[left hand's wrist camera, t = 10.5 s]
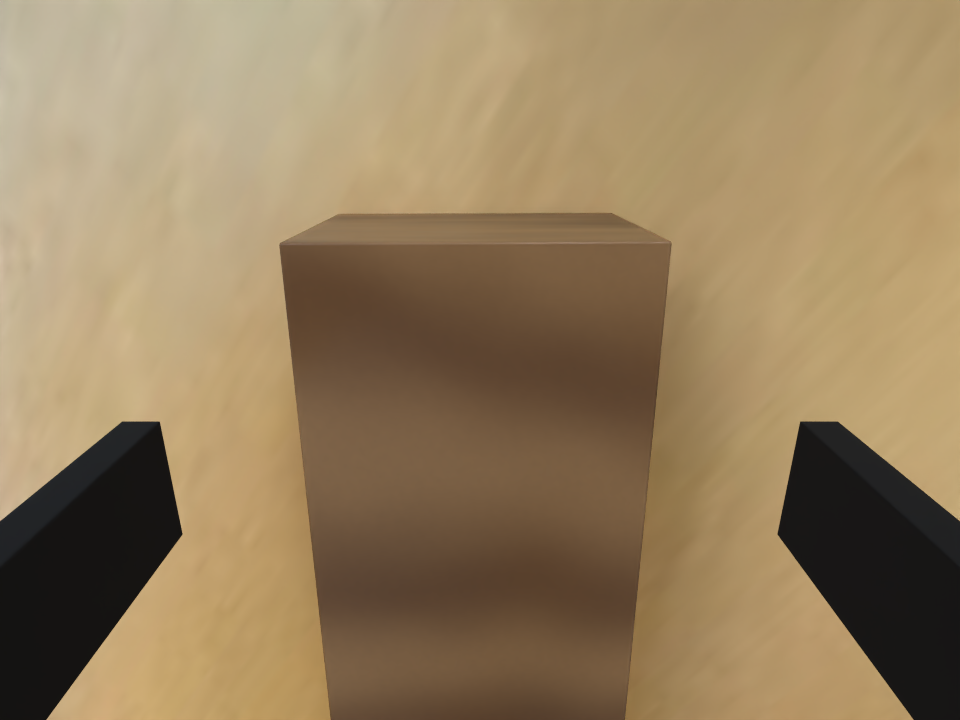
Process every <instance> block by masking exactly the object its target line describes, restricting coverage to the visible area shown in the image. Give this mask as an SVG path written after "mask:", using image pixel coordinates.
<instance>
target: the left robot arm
mask: <svg viewBox="0 0 960 720" xmlns="http://www.w3.org/2000/svg"><path fill="white" fill-rule="evenodd" d="M181 536H182V530H181V525H180V520H179V515H178V510H177V505H176V500H175V495H174V490H173V485H172V480H171V475H170V470H169V465H168V460H167V455H166V450H165V446H164V441H163V436H162V431H161V426H160V422H121V423H120V424H119V425H118V426H116V427H115V428H114V429H113V430H111V431H110V432H109V433H108V434H107V435H105V436H104V437H103V438H102V439H100V440H99V441H98V442H97V443H96V444H94V445H93V446H92V447H91V448H89V449H88V450H87V451H86V452H85V453H83V454H82V455H81V456H80V457H78V458H77V459H76V460H75V461H73V462H72V463H71V464H70V465H69V466H67V467H66V468H65V469H64V470H62V471H61V472H60V473H59V474H58V475H56V476H55V477H54V478H53V479H51V480H50V481H49V482H48V483H47V484H45V485H44V486H43V487H42V488H40V489H39V490H38V491H37V492H36V493H34V494H33V495H32V496H31V497H29V498H28V499H27V500H26V501H25V502H23V503H22V504H21V505H20V506H18V507H17V508H16V509H15V510H14V511H12V512H11V513H10V514H9V515H7V516H6V517H5V518H4V519H2V520H1V521H0V720H46V719H47V718H48V717H49V715H50V714H51V713H52V711H53V710H54V708H55V707H56V706H57V704H58V703H59V702H60V700H61V699H62V698H63V696H64V695H65V693H66V692H67V691H68V689H69V688H70V687H71V685H72V684H73V683H74V681H75V680H76V679H77V677H78V676H79V674H80V673H81V672H82V670H83V669H84V668H85V666H86V665H87V664H88V662H89V661H90V659H91V658H92V657H93V655H94V654H95V653H96V651H97V650H98V649H99V647H100V646H101V645H102V643H103V642H104V640H105V639H106V638H107V636H108V635H109V634H110V632H111V631H112V630H113V628H114V627H115V625H116V624H117V623H118V621H119V620H120V619H121V617H122V616H123V615H124V613H125V612H126V610H127V609H128V608H129V606H130V605H131V604H132V602H133V601H134V600H135V598H136V597H137V596H138V594H139V593H140V591H141V590H142V589H143V587H144V586H145V585H146V583H147V582H148V581H149V579H150V578H151V576H152V575H153V574H154V572H155V571H156V570H157V568H158V567H159V566H160V564H161V563H162V561H163V560H164V559H165V557H166V556H167V555H168V553H169V552H170V551H171V549H172V548H173V547H174V545H175V544H176V542H177V541H178V540H179V538H180V537H181ZM778 536H779V537H780V538H781V540H782V541H783V542H784V544H785V545H786V547H787V548H788V549H789V551H790V552H791V553H792V555H793V556H794V557H795V559H796V560H797V561H798V563H799V564H800V566H801V567H802V568H803V570H804V571H805V572H806V574H807V575H808V576H809V578H810V579H811V581H812V582H813V583H814V585H815V586H816V587H817V589H818V590H819V591H820V593H821V594H822V596H823V597H824V598H825V600H826V601H827V602H828V604H829V605H830V606H831V608H832V609H833V610H834V612H835V613H836V615H837V616H838V617H839V619H840V620H841V621H842V623H843V624H844V625H845V627H846V628H847V630H848V631H849V632H850V634H851V635H852V636H853V638H854V639H855V640H856V642H857V643H858V645H859V646H860V647H861V649H862V650H863V651H864V653H865V654H866V655H867V657H868V658H869V659H870V661H871V662H872V664H873V665H874V666H875V668H876V669H877V670H878V672H879V673H880V674H881V676H882V677H883V679H884V680H885V681H886V683H887V684H888V685H889V687H890V688H891V689H892V691H893V692H894V693H895V695H896V696H897V698H898V699H899V700H900V702H901V703H902V704H903V706H904V707H905V708H906V710H907V711H908V713H909V714H910V715H911V717H912V718H913V719H914V720H960V521H959V520H958V519H956V518H955V517H954V516H953V515H951V514H950V513H949V512H948V511H946V510H945V509H944V508H943V507H942V506H940V505H939V504H938V503H937V502H935V501H934V500H933V499H932V498H931V497H929V496H928V495H927V494H926V493H924V492H923V491H922V490H921V489H920V488H918V487H917V486H916V485H915V484H913V483H912V482H911V481H910V480H909V479H907V478H906V477H905V476H904V475H902V474H901V473H900V472H899V471H898V470H896V469H895V468H894V467H893V466H891V465H890V464H889V463H888V462H887V461H885V460H884V459H883V458H882V457H880V456H879V455H878V454H877V453H875V452H874V451H873V450H872V449H871V448H869V447H868V446H867V445H866V444H864V443H863V442H862V441H861V440H860V439H858V438H857V437H856V436H855V435H853V434H852V433H851V432H850V431H849V430H847V429H846V428H845V427H844V426H842V425H841V424H840V423H839V422H800V426H799V431H798V436H797V441H796V446H795V450H794V455H793V460H792V465H791V470H790V475H789V480H788V485H787V490H786V495H785V500H784V505H783V510H782V515H781V520H780V525H779V530H778Z"/></svg>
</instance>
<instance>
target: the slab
mask: <svg viewBox="0 0 960 720" xmlns="http://www.w3.org/2000/svg"><path fill="white" fill-rule="evenodd" d="M670 254H671V241H669V240H666V239H664V238H662V237H660V236H658V235H656V234H654V233H652V232H650V231H648V230H646V229H644V228H641V227H639V226H637V225H635V224H633V223H631V222H629V221H627V220H625V219H623V218H621V217H619V216H616V215H614V214H612V213H519V214H338V215H336V216H334V217H332V218H330V219H328V220H326V221H324V222H322V223H320V224H318V225H316V226H314V227H312V228H310V229H308V230H306V231H304V232H302V233H300V234H298V235H296V236H294V237H291V238H289V239H287V240H285V241H283V242H281V243H280V255H281V264H282V273H283V282H284V292H285V301H286V310H287V319H288V329H289V338H290V347H291V356H292V365H293V375H294V384H295V393H296V402H297V412H298V421H299V430H300V439H301V449H302V458H303V467H304V476H305V485H306V495H307V504H308V513H309V522H310V532H311V541H312V550H313V559H314V569H315V578H316V587H317V596H318V605H319V615H320V624H321V633H322V642H323V652H324V661H325V670H326V679H327V689H328V698H329V707H330V716H331V720H625V712H626V701H627V691H628V681H629V671H630V661H631V651H632V640H633V630H634V620H635V610H636V600H637V589H638V579H639V569H640V559H641V549H642V539H643V528H644V518H645V508H646V498H647V488H648V477H649V467H650V457H651V447H652V437H653V427H654V416H655V406H656V396H657V386H658V376H659V366H660V355H661V345H662V335H663V325H664V315H665V304H666V294H667V284H668V274H669V264H670Z"/></svg>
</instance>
